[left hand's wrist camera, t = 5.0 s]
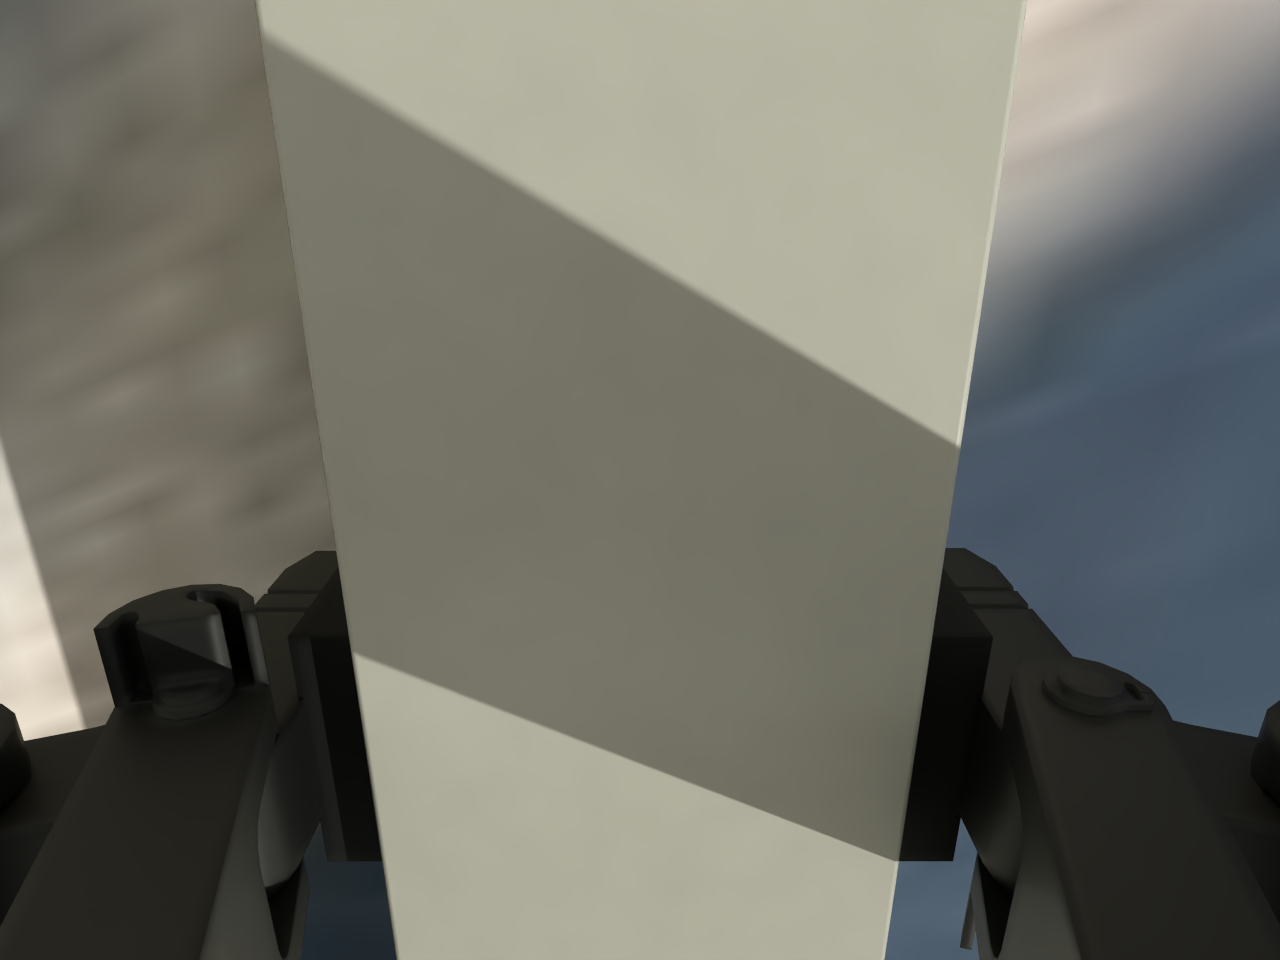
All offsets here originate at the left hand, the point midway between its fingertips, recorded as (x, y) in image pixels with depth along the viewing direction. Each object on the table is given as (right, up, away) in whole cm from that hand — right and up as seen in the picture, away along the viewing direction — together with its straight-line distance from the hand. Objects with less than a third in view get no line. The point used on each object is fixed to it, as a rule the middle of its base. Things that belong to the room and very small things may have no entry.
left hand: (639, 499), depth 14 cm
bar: (0, -22, +9) cm, 24 cm away
